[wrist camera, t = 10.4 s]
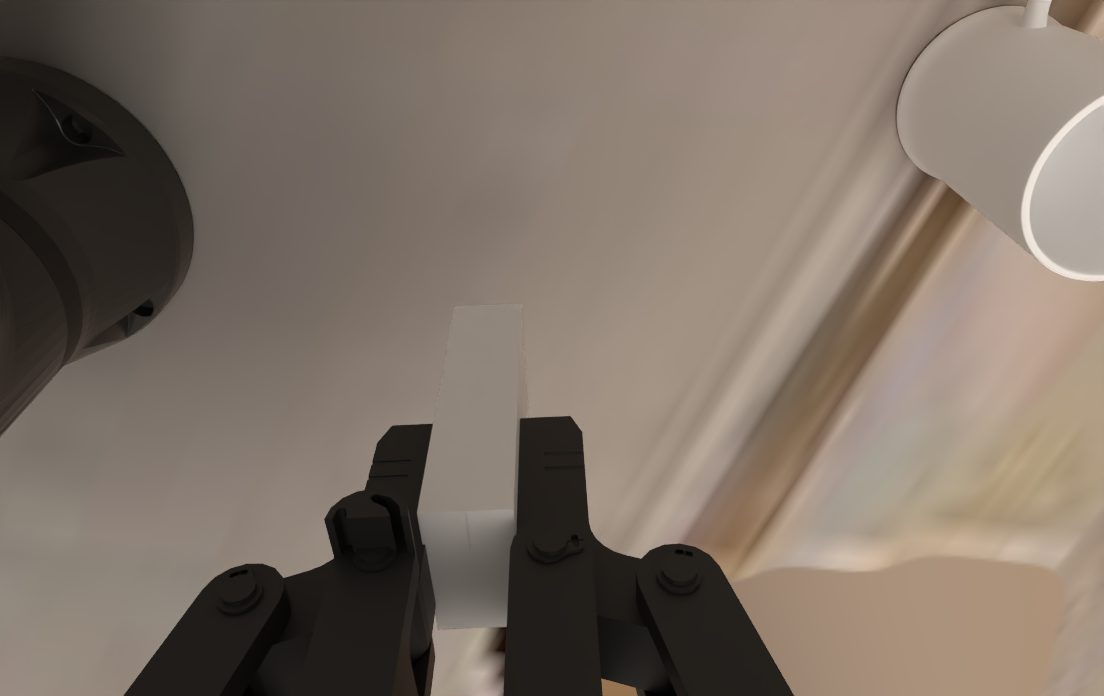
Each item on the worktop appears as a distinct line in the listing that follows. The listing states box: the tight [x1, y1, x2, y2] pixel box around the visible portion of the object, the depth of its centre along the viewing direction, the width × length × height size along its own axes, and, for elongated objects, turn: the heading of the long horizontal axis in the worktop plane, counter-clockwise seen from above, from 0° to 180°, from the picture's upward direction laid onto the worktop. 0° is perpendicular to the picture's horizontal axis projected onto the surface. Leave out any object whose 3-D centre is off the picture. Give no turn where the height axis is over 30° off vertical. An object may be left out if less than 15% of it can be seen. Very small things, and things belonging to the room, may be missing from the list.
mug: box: [897, 0, 1104, 281], centre depth 34 cm, size 12×8×12 cm
